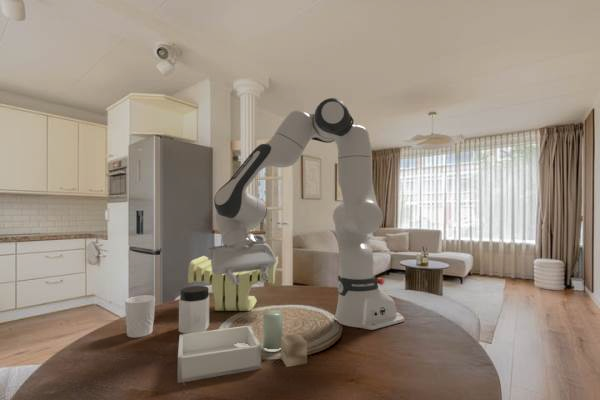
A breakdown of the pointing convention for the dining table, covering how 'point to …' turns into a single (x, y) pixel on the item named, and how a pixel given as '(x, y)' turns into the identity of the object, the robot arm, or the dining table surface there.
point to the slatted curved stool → (228, 284)
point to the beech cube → (293, 350)
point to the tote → (217, 353)
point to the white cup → (139, 315)
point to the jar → (193, 309)
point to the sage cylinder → (272, 329)
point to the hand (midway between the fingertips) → (251, 281)
